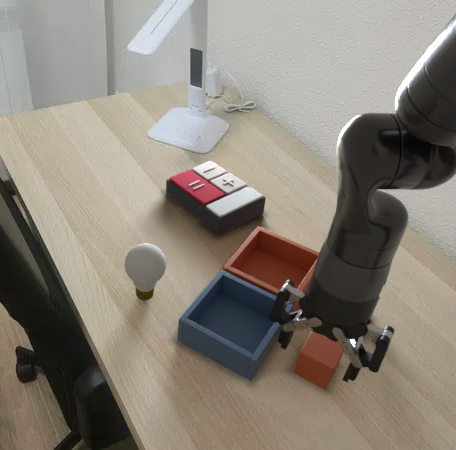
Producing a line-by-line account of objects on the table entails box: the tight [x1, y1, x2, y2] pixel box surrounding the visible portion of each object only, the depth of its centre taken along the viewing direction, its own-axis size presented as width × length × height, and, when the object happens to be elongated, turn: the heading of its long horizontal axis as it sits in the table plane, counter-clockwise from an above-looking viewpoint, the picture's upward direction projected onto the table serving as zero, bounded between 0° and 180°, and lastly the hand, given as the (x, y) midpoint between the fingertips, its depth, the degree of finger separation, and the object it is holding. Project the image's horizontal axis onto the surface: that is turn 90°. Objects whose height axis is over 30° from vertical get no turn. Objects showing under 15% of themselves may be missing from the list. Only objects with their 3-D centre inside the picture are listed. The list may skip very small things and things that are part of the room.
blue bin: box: [176, 269, 293, 382], centre depth 77 cm, size 12×12×4 cm
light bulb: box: [124, 242, 167, 301], centre depth 80 cm, size 6×6×10 cm
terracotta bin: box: [222, 226, 320, 313], centre depth 85 cm, size 12×12×4 cm
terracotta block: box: [292, 330, 344, 391], centre depth 73 cm, size 5×5×5 cm
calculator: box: [165, 160, 266, 237], centre depth 99 cm, size 11×4×15 cm
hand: (315, 360), depth 72 cm, fingers open, 8 cm apart
